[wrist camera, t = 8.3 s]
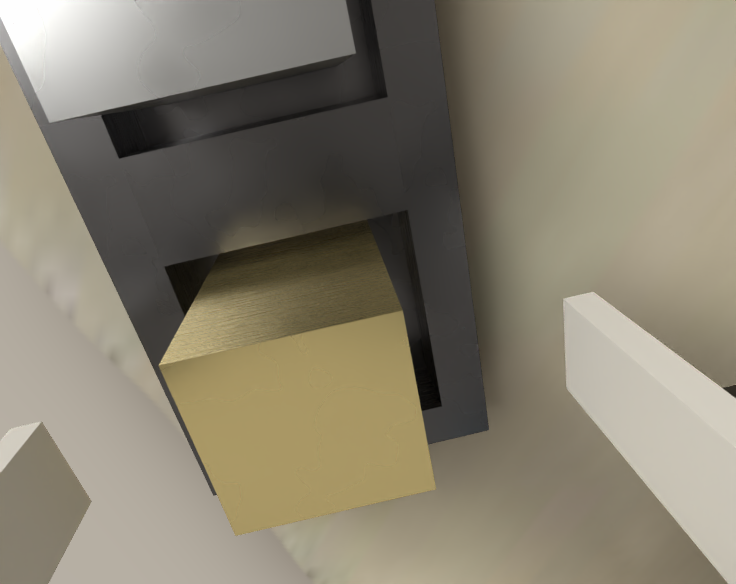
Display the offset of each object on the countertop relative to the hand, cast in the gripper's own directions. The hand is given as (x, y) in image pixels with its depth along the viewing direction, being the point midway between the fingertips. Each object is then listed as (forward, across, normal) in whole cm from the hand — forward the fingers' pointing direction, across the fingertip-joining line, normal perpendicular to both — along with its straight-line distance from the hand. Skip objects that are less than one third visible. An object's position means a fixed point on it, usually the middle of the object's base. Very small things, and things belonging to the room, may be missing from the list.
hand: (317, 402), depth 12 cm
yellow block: (+6, 0, 0) cm, 6 cm away
